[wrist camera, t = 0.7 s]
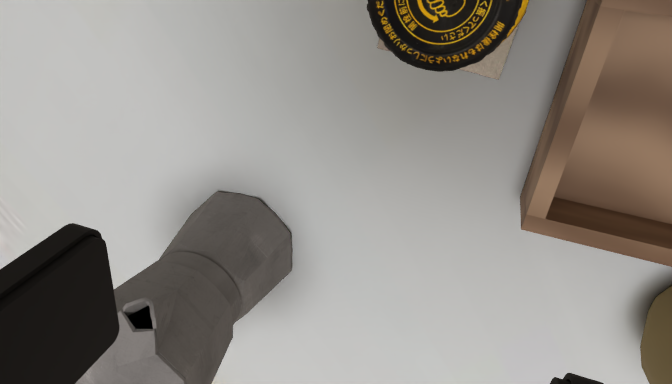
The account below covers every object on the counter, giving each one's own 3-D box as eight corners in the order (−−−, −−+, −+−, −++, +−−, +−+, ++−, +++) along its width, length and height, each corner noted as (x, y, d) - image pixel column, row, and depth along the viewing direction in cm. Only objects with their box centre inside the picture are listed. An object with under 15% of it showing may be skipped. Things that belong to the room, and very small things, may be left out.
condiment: (558, -88, 24) (591, -99, 14) (498, 78, 28) (490, 161, 18) (414, -117, 25) (350, -146, 15) (378, 47, 30) (309, 107, 20)
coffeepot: (214, 146, 37) (4, 299, 22) (324, 209, 36) (188, 410, 21) (170, 281, 45) (-4, 460, 30) (259, 333, 44) (129, 543, 29)
